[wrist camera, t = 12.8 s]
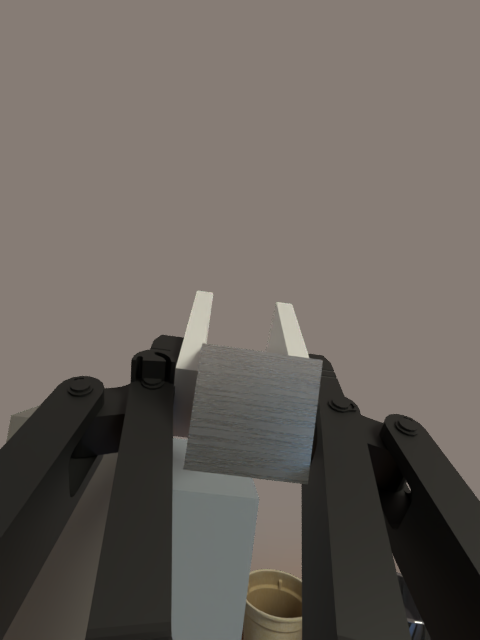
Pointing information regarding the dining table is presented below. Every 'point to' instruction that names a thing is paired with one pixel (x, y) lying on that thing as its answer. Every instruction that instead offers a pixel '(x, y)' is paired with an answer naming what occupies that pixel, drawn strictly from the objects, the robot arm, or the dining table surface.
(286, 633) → the flower pot
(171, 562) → the robot arm
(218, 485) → the short stand
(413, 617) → the wine glass
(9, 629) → the tall stand
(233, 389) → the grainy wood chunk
